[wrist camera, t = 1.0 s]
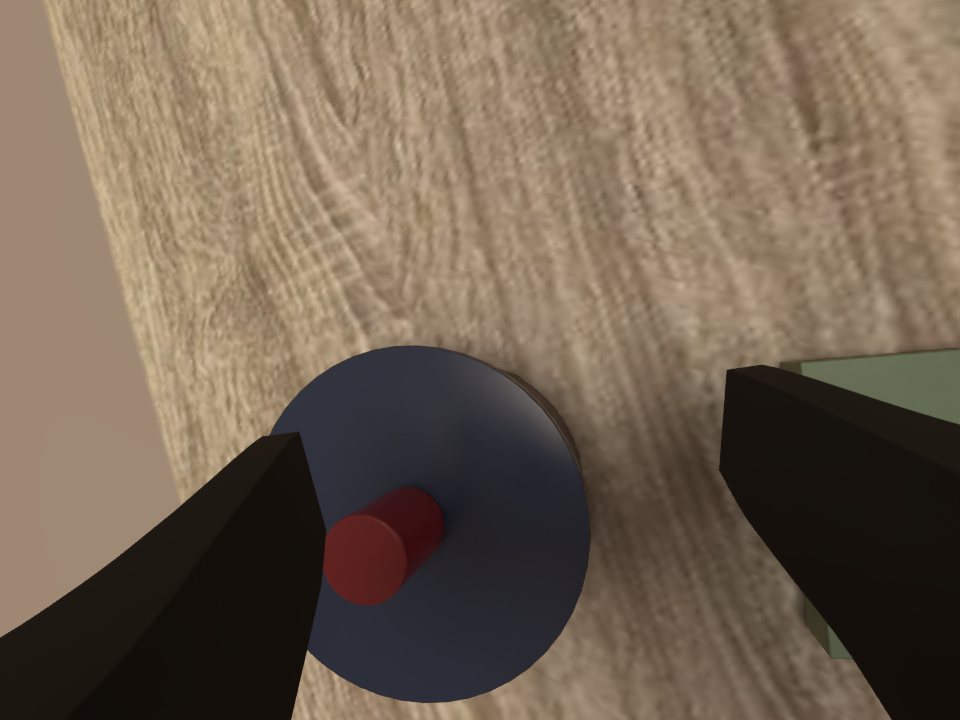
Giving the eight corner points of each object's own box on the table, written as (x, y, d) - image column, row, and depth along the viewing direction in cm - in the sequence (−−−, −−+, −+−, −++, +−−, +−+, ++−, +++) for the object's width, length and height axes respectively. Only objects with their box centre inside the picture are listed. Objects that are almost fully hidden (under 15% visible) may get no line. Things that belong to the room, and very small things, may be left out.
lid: (607, 690, 19) (606, 798, 14) (281, 681, 21) (189, 769, 16) (574, 329, 19) (562, 319, 14) (256, 362, 21) (159, 362, 17)
